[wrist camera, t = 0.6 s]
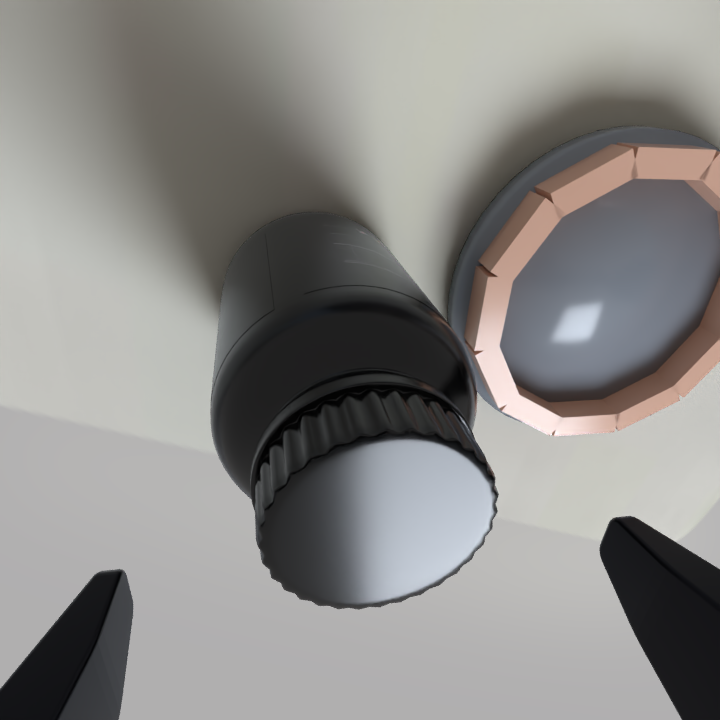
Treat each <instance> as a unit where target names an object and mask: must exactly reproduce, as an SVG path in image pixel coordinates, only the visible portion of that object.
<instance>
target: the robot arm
mask: <svg viewBox="0 0 720 720" xmlns="http://www.w3.org/2000/svg"><path fill="white" fill-rule="evenodd" d="M600 556H601V559H602V562H603V564H604V566H605V569H606V571H607V573H608V575H609V578H610V580H611V582H612V584H613V587H614V589H615V591H616V593H617V596H618V598H619V600H620V603H621V605H622V607H623V609H624V612H625V614H626V616H627V618H628V621H629V623H630V625H631V627H632V629H633V631H634V633H635V635H636V637H637V639H638V641H639V643H640V645H641V647H642V648H643V650H644V652H645V654H646V656H647V657H648V659H649V661H650V663H651V665H652V667H653V668H654V670H655V672H656V674H657V676H658V677H659V679H660V681H661V683H662V685H663V686H664V688H665V690H666V692H667V694H668V695H669V697H670V699H671V701H672V702H673V704H674V706H675V708H676V710H677V712H678V713H679V715H680V717H681V719H682V720H720V569H718V568H717V567H715V566H713V565H712V564H710V563H709V562H707V561H705V560H704V559H702V558H701V557H699V556H697V555H696V554H694V553H692V552H691V551H689V550H688V549H686V548H684V547H683V546H681V545H679V544H678V543H676V542H675V541H673V540H671V539H670V538H668V537H666V536H665V535H663V534H662V533H660V532H658V531H657V530H655V529H653V528H652V527H650V526H649V525H647V524H645V523H644V522H642V521H640V520H639V519H637V518H635V517H632V516H626V517H616V518H613V519H612V520H610V522H609V524H608V527H607V529H606V532H605V534H604V537H603V539H602V542H601V544H600ZM132 618H133V600H132V595H131V591H130V588H129V583H128V579H127V575H126V573H125V572H124V571H123V570H121V569H117V570H107V571H101V572H98V573H97V574H95V575H94V576H93V578H92V579H91V580H90V581H89V582H88V584H87V585H86V586H85V587H84V588H83V590H82V591H81V592H80V593H79V594H78V596H77V597H76V598H75V599H74V600H73V602H72V603H71V604H70V605H69V606H68V608H67V609H66V610H65V611H64V613H63V614H62V615H61V616H60V617H59V619H58V620H57V621H56V622H55V623H54V625H53V626H52V627H51V628H50V629H49V631H48V632H47V633H46V634H45V636H44V637H43V638H42V639H41V640H40V642H39V643H38V644H37V645H36V646H35V648H34V649H33V650H32V651H31V652H30V654H29V655H28V656H27V657H26V658H25V660H24V661H23V662H22V664H21V665H20V666H19V667H18V668H17V670H16V671H15V672H14V673H13V674H12V675H11V677H10V678H9V679H8V680H7V682H6V683H5V684H4V685H3V686H2V688H1V689H0V720H118V719H119V715H120V709H121V702H122V696H123V687H124V680H125V672H126V664H127V656H128V649H129V640H130V633H131V625H132Z"/></svg>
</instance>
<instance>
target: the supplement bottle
mask: <svg viewBox="0 0 720 720" xmlns="http://www.w3.org/2000/svg"><path fill="white" fill-rule="evenodd" d="M476 409H477V385H476V378H475V373H474V370H473V366H472V363H471V360H470V358H469V355H468V353H467V351H466V349H465V348H464V346H463V344H462V342H461V341H460V339H459V338H458V336H457V335H456V333H455V332H454V331H453V329H452V328H451V326H450V325H449V324H448V322H447V321H446V320H445V319H444V318H443V316H442V315H441V314H440V313H439V311H438V310H437V309H436V308H435V306H434V305H433V304H432V303H431V301H430V300H429V299H428V298H427V296H426V295H425V294H424V293H423V291H422V290H421V289H420V288H419V287H418V285H417V284H416V283H415V282H414V280H413V279H412V278H411V277H410V275H409V274H408V273H407V272H406V270H405V269H404V268H403V267H402V265H401V264H400V263H399V262H398V260H397V259H396V258H395V257H394V256H393V254H392V253H391V252H390V251H389V250H388V248H387V247H386V246H385V245H384V244H383V243H382V242H381V241H380V240H379V239H378V238H377V237H376V236H375V235H374V234H373V233H372V232H371V231H369V230H368V229H366V228H365V227H364V226H362V225H360V224H359V223H357V222H355V221H353V220H351V219H348V218H346V217H343V216H340V215H336V214H331V213H324V212H304V213H297V214H292V215H289V216H285V217H282V218H280V219H277V220H275V221H273V222H271V223H269V224H267V225H265V226H264V227H262V228H261V229H259V230H258V231H256V232H255V233H254V234H253V235H251V236H250V237H249V238H248V239H247V240H246V241H245V242H244V243H243V245H242V246H241V247H240V248H239V250H238V251H237V253H236V254H235V256H234V257H233V259H232V261H231V263H230V265H229V268H228V271H227V273H226V276H225V280H224V284H223V290H222V296H221V304H220V314H219V324H218V334H217V344H216V354H215V364H214V373H213V384H212V394H211V430H212V437H213V441H214V445H215V448H216V451H217V453H218V456H219V459H220V460H221V462H222V464H223V466H224V468H225V470H226V471H227V473H228V474H229V476H230V477H231V479H232V480H233V481H234V482H235V483H236V485H238V487H239V488H240V489H241V490H242V491H243V492H244V493H245V494H246V495H247V496H248V497H250V498H251V499H252V504H253V507H254V510H255V519H256V520H255V521H256V541H257V545H258V547H259V549H260V552H261V560H262V563H263V564H264V565H265V566H266V567H267V568H268V569H270V574H271V578H272V579H274V580H276V581H278V582H280V583H281V584H282V587H283V588H284V590H286V591H289V592H292V593H295V594H296V595H297V597H298V598H299V599H301V600H308V601H312V602H314V603H315V604H317V605H318V606H331V607H334V608H337V609H342V608H354V609H362V608H367V607H381V606H384V605H387V604H389V603H397V602H402V601H403V600H406V599H407V598H409V597H413V596H417V595H421V594H422V593H424V592H425V591H427V590H428V589H430V588H433V587H436V586H439V585H440V584H441V583H442V582H444V580H446V579H447V578H448V577H450V576H452V575H454V574H456V573H457V572H458V571H459V570H460V568H461V567H462V566H463V565H464V564H466V563H467V562H469V561H470V560H471V559H472V558H473V556H474V553H475V552H476V551H477V550H478V549H479V548H480V547H481V546H482V545H483V544H484V540H485V536H486V535H487V534H488V533H489V532H490V531H491V529H492V520H493V519H494V517H495V515H496V513H497V507H496V504H495V503H496V501H497V498H498V495H499V494H498V491H497V488H496V486H495V476H494V473H493V471H492V469H491V467H490V466H489V464H488V462H487V461H486V458H485V456H484V454H483V452H482V450H481V449H480V447H479V446H478V444H477V442H476V441H475V438H474V435H473V432H472V429H473V426H474V421H475V416H476Z"/></svg>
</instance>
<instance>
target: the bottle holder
mask: <svg viewBox="0 0 720 720" xmlns="http://www.w3.org/2000/svg"><path fill="white" fill-rule="evenodd" d="M448 324H449V325H450V326H451V328H452V329H453V331H454V332H455V333H456V335H457V336H458V338H459V339H460V341H461V342H462V344H463V346H464V348H465V349H466V351H467V353H468V355H469V358H470V360H471V363H472V366H473V370H474V373H475V378H476V385H477V392H478V393H479V394H480V395H481V397H482V398H483V399H484V400H485V401H486V402H488V403H489V404H490V405H491V406H492V407H493V408H495V409H496V410H498V411H499V412H501V413H503V414H504V415H506V416H508V417H510V418H513V419H515V420H518V421H520V422H523V423H526V424H528V425H530V426H532V427H534V428H536V429H537V430H539V431H541V432H543V433H545V434H547V435H549V436H550V435H551V434H552V435H553V436H567V435H581V434H595V433H609V432H614V431H615V428H616V429H617V430H618V431H619V430H621V429H623V428H625V427H627V426H629V425H631V424H633V423H635V422H637V421H639V420H641V419H643V418H645V417H647V416H649V415H651V414H653V413H655V412H657V411H659V410H661V409H663V408H665V407H667V406H669V405H671V404H673V403H675V402H678V401H680V399H679V395H681V396H682V397H685V396H686V395H687V394H688V393H689V392H690V391H691V390H692V389H693V388H694V387H695V386H696V385H697V384H698V383H699V382H700V381H701V380H702V379H703V378H704V377H705V376H706V375H707V374H708V373H709V372H710V371H711V370H712V369H713V368H714V367H715V365H716V364H717V363H718V362H719V361H720V150H719V149H717V148H716V147H715V146H713V145H712V144H710V143H708V142H706V141H704V140H702V139H701V138H699V137H696V136H693V135H690V134H687V133H684V132H680V131H675V130H668V129H662V128H654V127H647V126H620V127H615V128H609V129H604V130H598V131H595V132H592V133H589V134H586V135H583V136H580V137H577V138H575V139H573V140H571V141H569V142H567V143H564V144H562V145H560V146H558V147H556V148H554V149H553V150H551V151H550V152H548V153H546V154H545V155H543V156H542V157H540V158H538V159H537V160H535V161H534V162H533V163H531V164H530V165H529V166H528V167H526V168H525V169H524V170H523V171H521V172H520V173H519V174H518V175H517V176H515V177H514V178H513V179H512V180H511V181H510V182H509V183H508V184H507V185H506V186H505V187H504V188H503V189H502V190H501V191H500V192H499V193H498V194H497V196H496V197H495V198H494V200H493V201H492V202H491V203H490V205H489V206H488V207H487V208H486V210H485V211H484V212H483V213H482V215H481V217H480V218H479V220H478V221H477V223H476V225H475V226H474V228H473V229H472V231H471V232H470V234H469V237H468V239H467V241H466V243H465V245H464V247H463V249H462V251H461V253H460V256H459V259H458V262H457V265H456V268H455V270H454V273H453V278H452V283H451V287H450V292H449V302H448Z"/></svg>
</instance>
